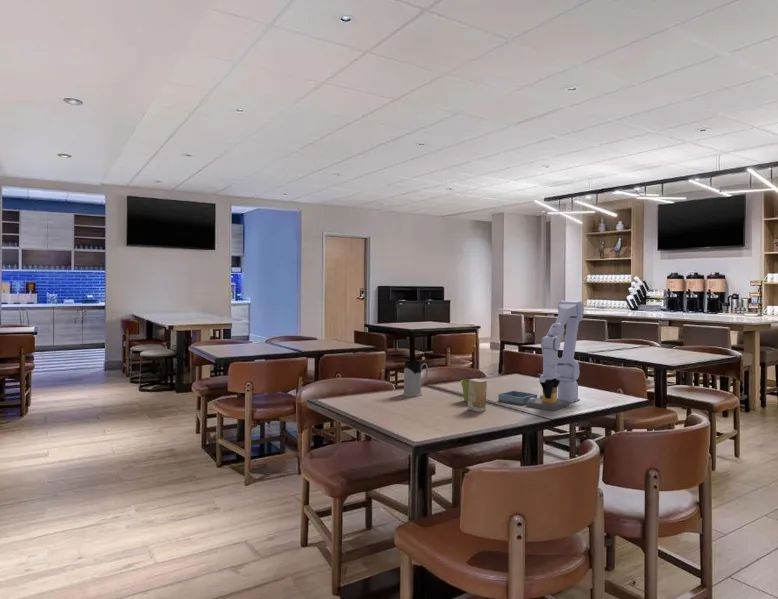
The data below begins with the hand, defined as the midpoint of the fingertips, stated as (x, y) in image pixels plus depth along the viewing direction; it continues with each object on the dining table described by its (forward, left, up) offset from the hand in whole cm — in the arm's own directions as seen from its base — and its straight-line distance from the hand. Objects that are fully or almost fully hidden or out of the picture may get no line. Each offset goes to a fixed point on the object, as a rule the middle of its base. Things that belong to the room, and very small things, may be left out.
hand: (549, 397), depth 228 cm
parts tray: (0, -15, -4) cm, 15 cm away
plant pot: (+15, -29, -4) cm, 33 cm away
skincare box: (+28, -17, -4) cm, 33 cm away
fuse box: (0, -1, -4) cm, 4 cm away
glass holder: (+20, -56, -4) cm, 60 cm away
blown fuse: (0, 0, -3) cm, 3 cm away
